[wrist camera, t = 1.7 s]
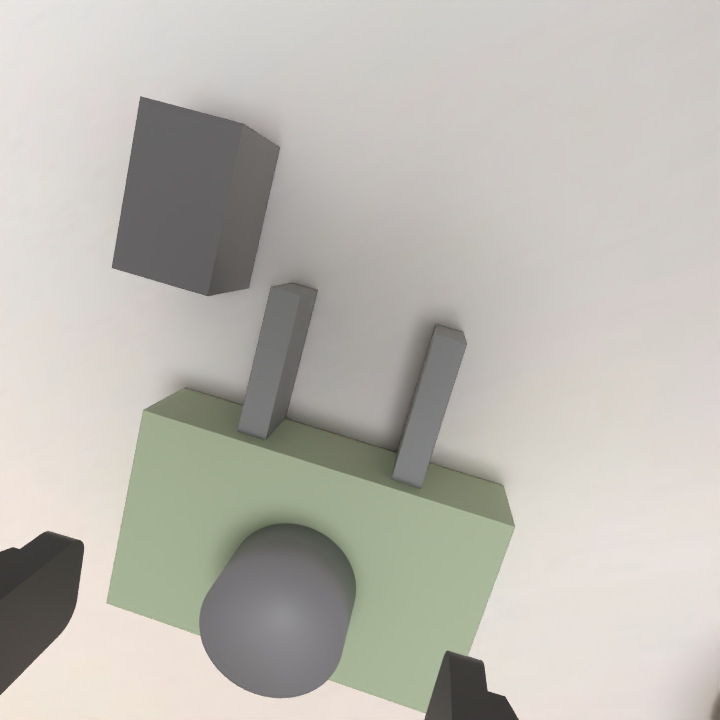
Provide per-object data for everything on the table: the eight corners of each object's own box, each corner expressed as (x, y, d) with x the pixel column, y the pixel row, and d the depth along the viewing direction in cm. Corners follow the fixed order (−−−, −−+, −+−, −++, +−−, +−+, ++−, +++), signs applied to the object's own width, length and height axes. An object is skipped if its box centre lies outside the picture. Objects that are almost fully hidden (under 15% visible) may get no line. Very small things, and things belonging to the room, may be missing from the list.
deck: (211, 259, 32) (127, 262, 24) (549, 356, 31) (593, 398, 22) (150, 556, 37) (60, 651, 28) (443, 655, 35) (445, 788, 26)
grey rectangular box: (196, 125, 31) (140, 96, 25) (280, 147, 31) (243, 123, 25) (169, 264, 33) (111, 267, 27) (249, 288, 33) (207, 296, 27)
